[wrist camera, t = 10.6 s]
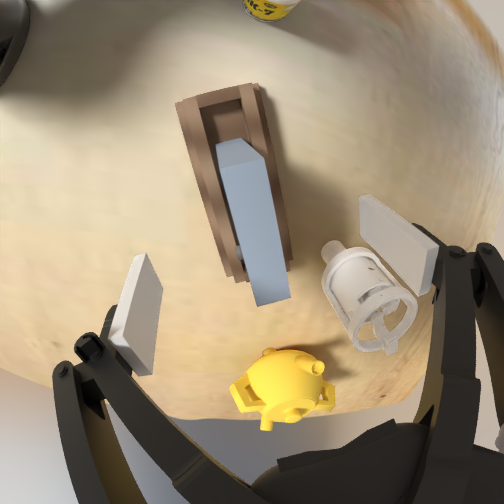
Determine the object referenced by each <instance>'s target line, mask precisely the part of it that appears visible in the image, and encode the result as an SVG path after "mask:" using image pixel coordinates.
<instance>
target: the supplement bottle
mask: <svg viewBox="0 0 504 504" xmlns="http://www.w3.org/2000/svg"><path fill="white" fill-rule="evenodd" d="M300 1H301V0H243V6H244V9H245V11H246V12H247V13H248V14H249V15H250V16H251V17H253V18H255V19H257V20H259V21H263V22H274V21H278V20H280V19H282V18H284V17H285V16H286V15H287V14H288V13H289V12H290V11H291V10H292V9H293V8H294V7H295V6H296V5H297V4H298V3H299V2H300Z"/></svg>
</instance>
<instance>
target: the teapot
mask: <svg viewBox="0 0 504 504" xmlns="http://www.w3.org/2000/svg"><path fill="white" fill-rule="evenodd" d="M263 355H264V356H263V357H261V358H260V359H258V360H257V361H256V362H255V363H254V364H253V365H252V366H251V367H250V368H249V369H248V370H247V372H246V373H245V375H244V376H242V377H241V378H240V379H238V380H237V381H235V382H234V383H233V384H232V385H231V387H230V389H229V390H230V392H231V394H232V396H233V398H234V400H235V402H236V404H237V406H238V408H239V410H240V412H241V413H243V412H253V411H259V412H260V413H261V414H262V419H261V427H260V429H261V430H266V431H271V430H272V428H273V422H274V421H276V422H287V423H294V422H297V421H299V420H301V419H302V417H303V416H305V415H307V414H309V413H310V412H311V411H312V410H322V411H331V410H332V409H333V408H334V407H335V386H333V385H332V384H330V383H328V382H327V381H325V380H323V376H322V373H323V371H324V369H325V365H324V363H323V362H322V361H319V360H317V359H316V358H315V357H314V356H312V355H310V354H308V353H306V352H305V351H298V350H280V351H276V349H275V348H268V349H265V350H264V351H263ZM320 394H322V396H323V400H319V396H320Z"/></svg>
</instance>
